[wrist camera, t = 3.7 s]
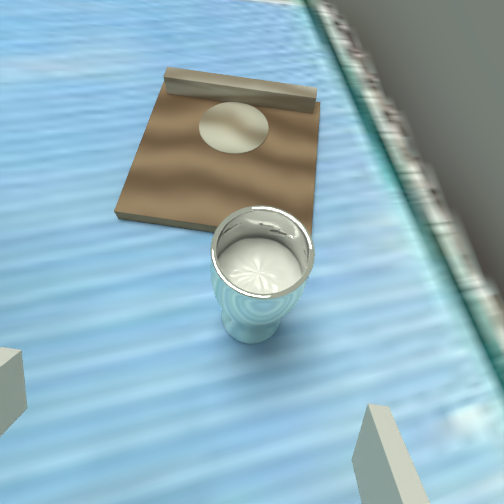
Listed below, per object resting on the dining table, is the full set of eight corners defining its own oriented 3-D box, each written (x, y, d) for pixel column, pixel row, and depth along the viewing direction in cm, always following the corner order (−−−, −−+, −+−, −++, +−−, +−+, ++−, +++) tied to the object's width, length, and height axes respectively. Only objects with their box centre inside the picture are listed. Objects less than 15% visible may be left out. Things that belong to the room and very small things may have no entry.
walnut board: (308, 246, 38) (315, 228, 35) (118, 218, 39) (106, 198, 35) (317, 111, 48) (324, 86, 44) (166, 89, 48) (160, 63, 45)
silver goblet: (220, 280, 36) (213, 198, 22) (285, 284, 36) (316, 206, 23) (213, 346, 33) (200, 297, 19) (284, 351, 33) (320, 306, 20)
